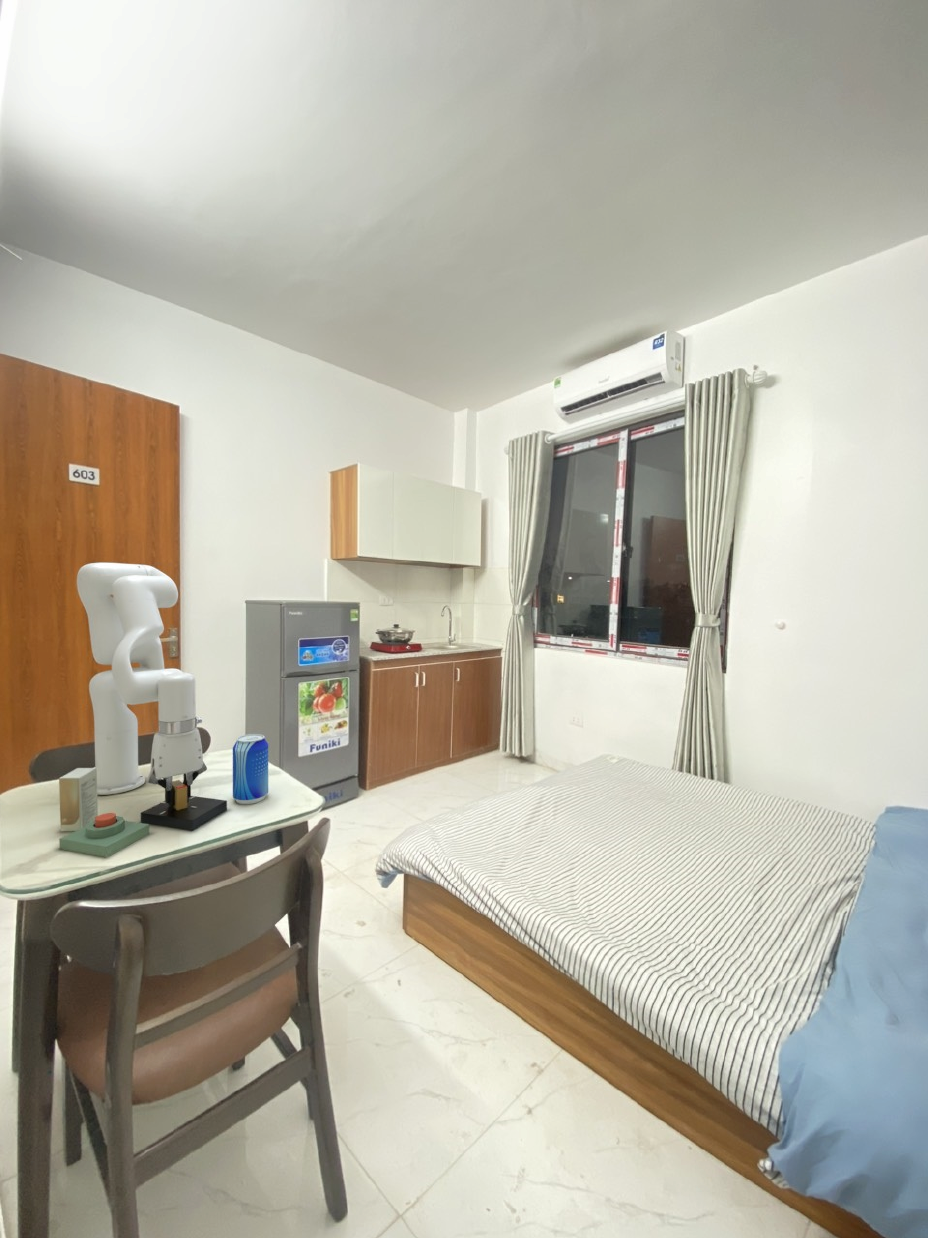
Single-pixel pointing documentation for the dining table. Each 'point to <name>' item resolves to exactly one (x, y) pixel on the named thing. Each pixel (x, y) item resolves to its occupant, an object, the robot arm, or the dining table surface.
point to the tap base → (184, 813)
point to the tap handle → (180, 795)
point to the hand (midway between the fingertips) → (178, 802)
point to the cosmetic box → (78, 798)
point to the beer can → (250, 769)
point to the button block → (104, 837)
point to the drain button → (105, 820)
